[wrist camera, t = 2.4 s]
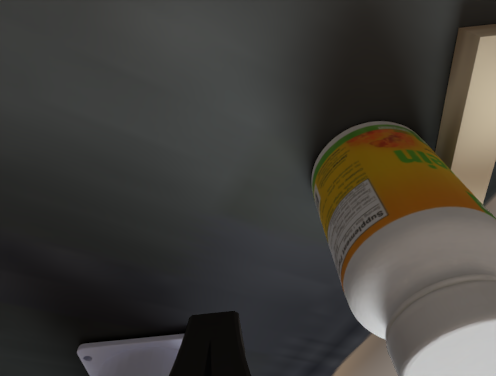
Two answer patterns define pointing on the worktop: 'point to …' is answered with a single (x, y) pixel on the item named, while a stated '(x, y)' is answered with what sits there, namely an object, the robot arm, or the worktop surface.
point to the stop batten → (471, 110)
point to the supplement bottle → (410, 249)
